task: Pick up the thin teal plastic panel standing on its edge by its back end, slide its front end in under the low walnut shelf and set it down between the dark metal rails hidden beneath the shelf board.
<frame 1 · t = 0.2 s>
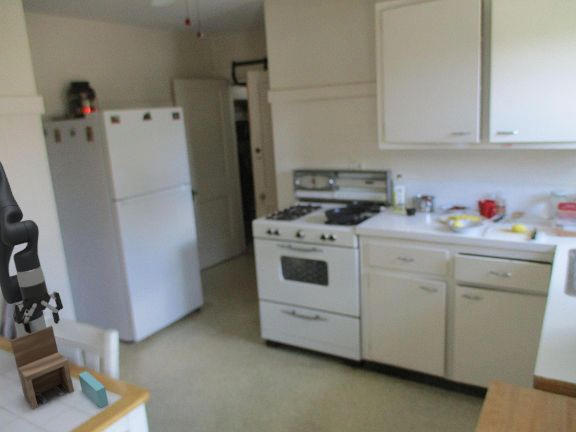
hand: (43, 328, 162), 17 cm above the table, tool pointing down, fingers open, 8 cm apart
walnut shelf: (49, 394, 154), on the table
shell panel: (95, 397, 150), on the table
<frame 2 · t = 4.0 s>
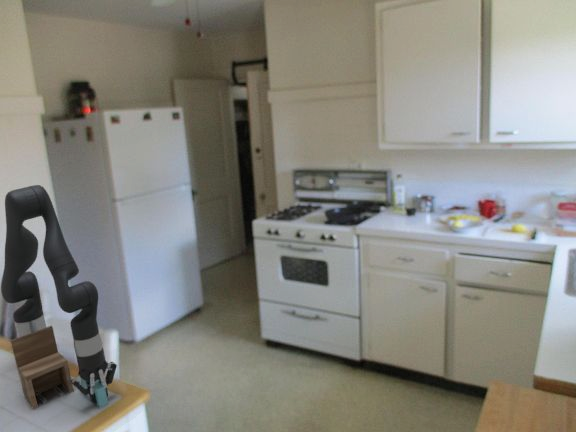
hand: (99, 400, 147), 1 cm above the table, tool pointing down, fingers closed on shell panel, 2 cm apart
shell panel: (94, 397, 150), on the table, touching gripper
everything else where it was.
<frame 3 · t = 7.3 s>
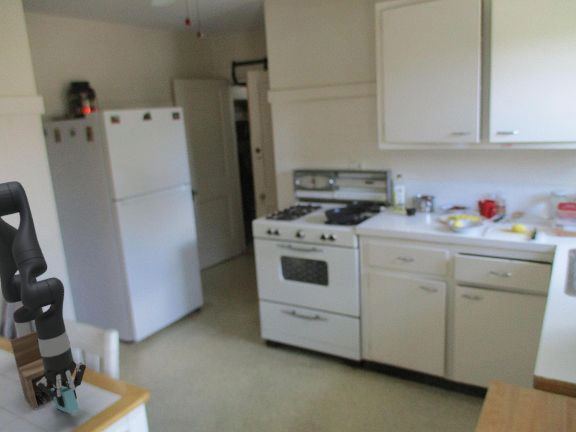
hand: (67, 403, 139), 5 cm above the table, tool pointing down, fingers closed on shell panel
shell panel: (67, 408, 141), point 3 cm above the table, tilted 18°, touching gripper
everything else where it was.
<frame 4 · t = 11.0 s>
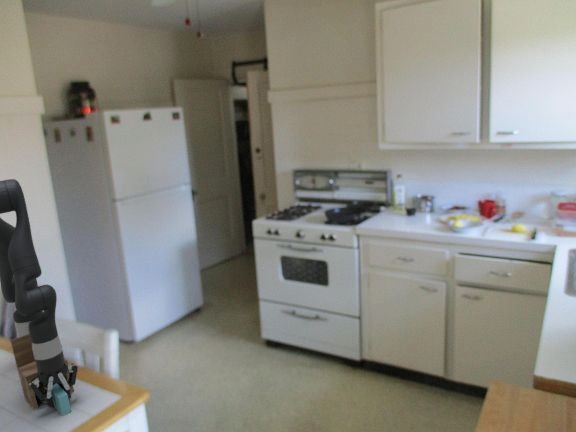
hand: (60, 403, 146), 1 cm above the table, tool pointing down, fingers open, 4 cm apart
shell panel: (58, 405, 148), on the table
everything else where it was.
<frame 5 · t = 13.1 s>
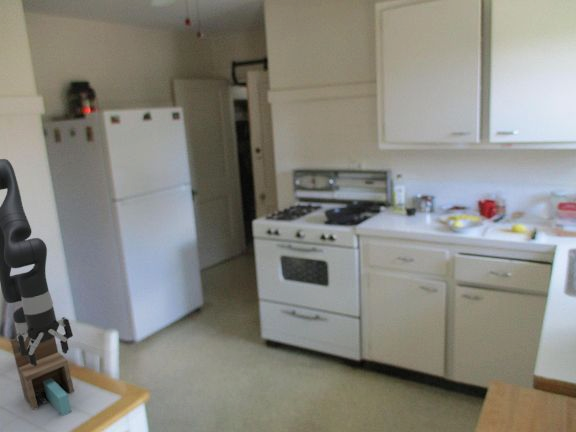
hand: (50, 358, 143), 16 cm above the table, tool pointing down, fingers open, 8 cm apart
nothing on the table moved.
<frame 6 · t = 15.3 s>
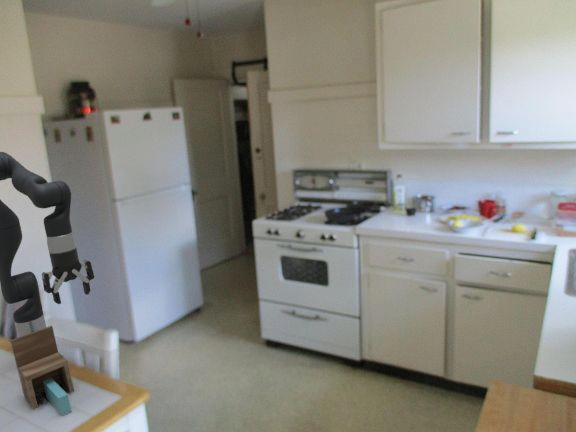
hand: (73, 298, 150), 30 cm above the table, tool pointing down, fingers open, 8 cm apart
nothing on the table moved.
at the end: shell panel 1.8 cm from the target spot on the table beside the walnut shelf, on the table; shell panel tilted 0°; the gripper is holding nothing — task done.
